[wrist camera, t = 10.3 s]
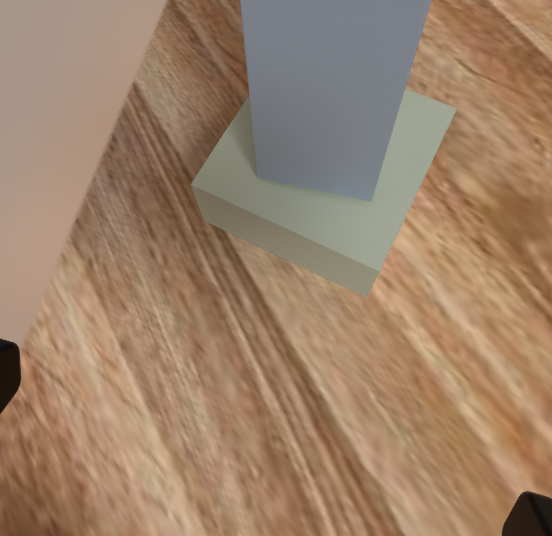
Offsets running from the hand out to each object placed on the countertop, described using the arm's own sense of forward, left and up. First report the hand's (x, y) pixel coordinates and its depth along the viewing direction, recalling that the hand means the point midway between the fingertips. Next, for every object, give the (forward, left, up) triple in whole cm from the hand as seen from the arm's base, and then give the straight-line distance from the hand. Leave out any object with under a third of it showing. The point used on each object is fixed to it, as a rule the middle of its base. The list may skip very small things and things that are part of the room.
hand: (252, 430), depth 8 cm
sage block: (+13, -3, -14) cm, 19 cm away
